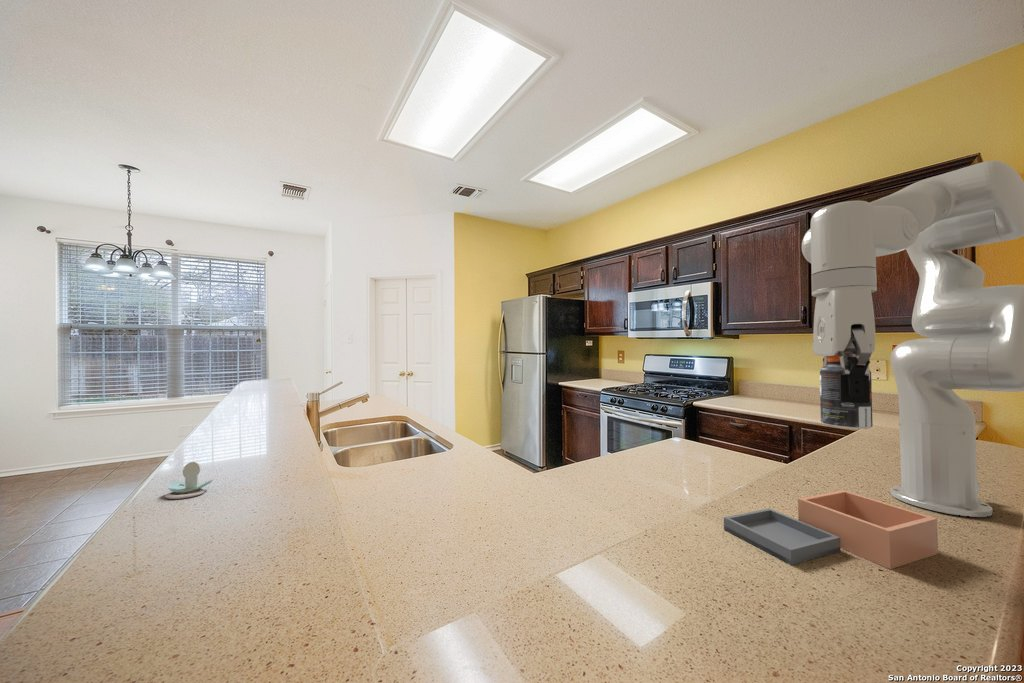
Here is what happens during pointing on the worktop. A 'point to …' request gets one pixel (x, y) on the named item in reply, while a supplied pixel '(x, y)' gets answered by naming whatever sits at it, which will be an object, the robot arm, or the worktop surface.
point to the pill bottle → (837, 410)
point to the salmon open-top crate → (872, 527)
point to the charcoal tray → (782, 535)
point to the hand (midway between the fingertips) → (845, 398)
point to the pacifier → (187, 483)
